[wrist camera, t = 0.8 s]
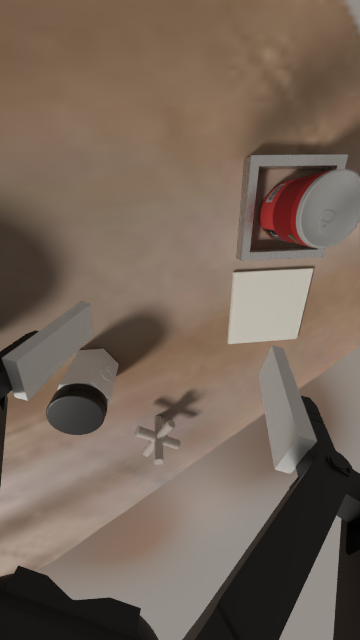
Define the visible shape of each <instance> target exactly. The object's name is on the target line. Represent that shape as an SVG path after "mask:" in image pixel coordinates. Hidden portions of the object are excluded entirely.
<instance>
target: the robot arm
mask: <svg viewBox="0 0 360 640" xmlns="http://www.w3.org/2000/svg"><path fill="white" fill-rule="evenodd" d="M92 335H93V332H92V315H91V304H90V303H86V302H80V303H78V304H77V305H75V306H74V307H73V308H71V309H70V310H68V311H67V312H66V313H64V314H63V315H61V316H60V317H59V318H57V319H56V320H54V321H53V322H52V323H50V324H49V325H47V326H46V327H45V328H43V329H42V330H40V331H33V332H30V333H28V334H25V335H24V336H23V337H21V338H20V339H19V340H17V341H15V342H14V343H13V344H11V345H9V346H8V347H6V348H5V349H3V350H2V351H1V352H0V485H1V473H2V461H3V450H4V438H5V426H6V415H7V403H8V398H7V394H8V393H9V392H10V391H11V390H13V393H14V396H15V397H16V398H20V399H23V400H27V401H28V400H29V399H30V398H31V397H32V396H33V395H34V394H35V393H36V392H37V391H38V390H39V389H40V388H41V387H42V386H43V385H44V384H45V383H46V382H47V381H48V380H49V379H50V378H51V377H52V376H53V375H54V373H55V372H56V371H57V370H58V369H59V368H60V367H61V366H62V365H63V364H64V363H65V362H66V361H67V360H68V359H69V358H70V357H71V356H72V355H73V354H74V353H75V352H76V351H77V350H78V349H79V348H80V347H81V346H82V345H83V344H84V343H85V342H86V341H87V340H88V339H89V338H90V337H91V336H92ZM259 381H260V387H261V393H262V398H263V404H264V410H265V416H266V421H267V427H268V433H269V439H270V444H271V451H272V456H273V462H274V468H275V470H279V471H282V472H286V473H290V474H291V473H292V472H293V470H294V469H295V468H296V470H297V474H298V478H297V479H296V480H295V481H294V482H293V484H292V485H291V486H290V489H289V490H288V491H287V493H286V494H285V496H284V497H283V499H282V500H281V502H280V503H279V504H278V506H277V507H276V509H275V510H274V511H273V513H272V514H271V516H270V517H269V519H268V520H267V522H266V523H265V524H264V526H263V527H262V529H261V530H260V531H259V533H258V534H257V536H256V537H255V539H254V540H253V542H252V543H251V544H250V546H249V547H248V549H247V550H246V552H245V553H244V554H243V556H242V557H241V559H240V560H239V562H238V563H237V564H236V566H235V567H234V569H233V570H232V572H231V573H230V575H229V576H228V577H227V579H226V580H225V582H224V583H223V584H222V586H221V587H220V589H219V590H218V592H217V593H216V594H215V596H214V597H213V599H212V600H211V602H210V603H209V604H208V606H207V607H206V609H205V610H204V612H203V613H202V614H201V616H200V617H199V618H198V620H197V621H196V623H195V624H194V625H193V626H192V628H191V629H190V630H189V632H188V633H187V634H186V636H185V637H184V638H183V640H279V638H280V636H281V634H282V631H283V629H284V627H285V625H286V623H287V621H288V618H289V616H290V614H291V612H292V610H293V608H294V605H295V603H296V601H297V599H298V597H299V594H300V593H301V590H302V588H303V586H304V584H305V582H306V580H307V577H308V575H309V573H310V571H311V568H312V566H313V564H314V562H315V560H316V558H317V556H318V553H319V551H320V549H321V547H322V545H323V542H324V541H325V538H326V536H327V534H328V532H329V530H330V528H331V525H332V523H333V521H334V519H335V517H336V515H337V516H338V517H340V518H342V521H341V535H340V549H339V550H340V551H339V564H338V578H337V593H336V608H335V622H334V637H333V640H360V473H358V472H356V471H355V470H353V469H352V466H351V465H350V464H349V462H348V461H347V459H345V458H344V457H343V456H342V455H341V454H340V453H338V452H337V451H336V450H335V448H334V446H333V443H332V441H331V439H330V436H329V434H328V431H327V429H326V427H325V424H323V420H322V417H321V416H320V412H319V410H318V408H317V406H316V405H315V403H314V402H313V401H312V400H311V399H310V398H308V397H304V396H301V395H300V393H299V390H298V387H297V384H296V382H295V379H294V376H293V374H292V371H291V368H290V365H289V363H288V360H287V357H286V354H285V352H284V349H283V348H280V347H276V346H271V348H270V351H269V353H268V355H267V357H266V359H265V362H264V364H263V366H262V368H261V370H260V373H259ZM140 610H141V609H140V608H138V607H135V606H132V605H130V604H127V603H124V602H121V601H118V600H115V599H112V598H98V599H86V600H72V599H71V598H70V597H68V596H67V595H66V594H65V593H64V592H63V591H62V590H61V589H60V588H59V587H58V586H57V585H56V584H55V583H54V582H53V581H52V580H51V579H50V578H49V577H48V576H47V575H44V574H41V573H38V572H35V571H32V570H29V569H27V568H24V567H21V566H18V567H17V569H16V571H15V573H14V574H9V575H5V576H1V577H0V640H158V638H157V636H156V634H155V633H154V631H153V630H152V628H151V627H150V625H149V624H148V623H147V622H146V621H145V620H144V619H143V618H142V617H141V616H140Z"/></svg>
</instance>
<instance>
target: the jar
mask: <svg viewBox="0 0 360 640" xmlns="http://www.w3.org/2000/svg"><path fill="white" fill-rule="evenodd" d="M118 366H119V364H118V363H117V362H116V361H115V360H114V359H113V358H112V357H111V356H110V355H109V354H108V353H107V352H106V350H105V349H103V348H102V349H89V350H79V351H78V352H77V354H76V356H75V358H74V359H73V361H72V363H71V365H70V367H69V368H68V370H67V372H66V374H65V376H64V377H63V379H62V381H61V383H60V385H59V387H58V389H57V392H56V393H55V394H54V396H53V398H52V400H51V402H50V403H49V405H48V407H47V410H46V416H47V419H48V421H49V423H50V424H51V425H52V426H53V427H54V428H55V429H57V430H59V431H61V432H63V433H67V434H72V435H83V434H88V433H91V432H93V431H95V430H97V429H98V428H99V427H100V426H101V425H102V423H103V421H104V418H105V416H106V412H107V405H108V403H109V401H110V399H111V395H112V391H113V387H114V383H115V378H116V374H117V370H118Z"/></svg>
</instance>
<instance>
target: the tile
mask: <svg viewBox="0 0 360 640" xmlns="http://www.w3.org/2000/svg"><path fill="white" fill-rule="evenodd" d="M312 273H313V268H299V269H279V270H260V271H240V272H233V281H232V293H231V306H230V318H229V331H228V344H235V343H248V342H261V341H274V340H287V339H297V336H298V332H299V328H300V324H301V319H302V315H303V311H304V307H305V302H306V298H307V294H308V290H309V286H310V281H311V277H312Z"/></svg>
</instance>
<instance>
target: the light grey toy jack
mask: <svg viewBox="0 0 360 640" xmlns="http://www.w3.org/2000/svg"><path fill="white" fill-rule="evenodd" d="M174 427H175V423H174V421H172V420H168V421H167V422H166V423H165V425H164V426H163V427H162V417H161V416H159V415H157V416H155V417H154V431H151V430H149V429H146V428H143V427H140V426H138V427H137V428H136V431H135V435H136V436H138V437H141V438H144V439H147V440H150V442H149V443H148V445H147V446H146V447H145V448H144V449H143V454H144V456H146V457H148V456H150V455H151V453H152V452H153V451H154V464H155V465H161V464H163V445H165V446H168V447H171V448H174V449H179V447H180V440H177V439H174V438H171V437H168V436H167V435H168V434H169V433H170V432H171V431H172V429H173V428H174Z"/></svg>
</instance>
